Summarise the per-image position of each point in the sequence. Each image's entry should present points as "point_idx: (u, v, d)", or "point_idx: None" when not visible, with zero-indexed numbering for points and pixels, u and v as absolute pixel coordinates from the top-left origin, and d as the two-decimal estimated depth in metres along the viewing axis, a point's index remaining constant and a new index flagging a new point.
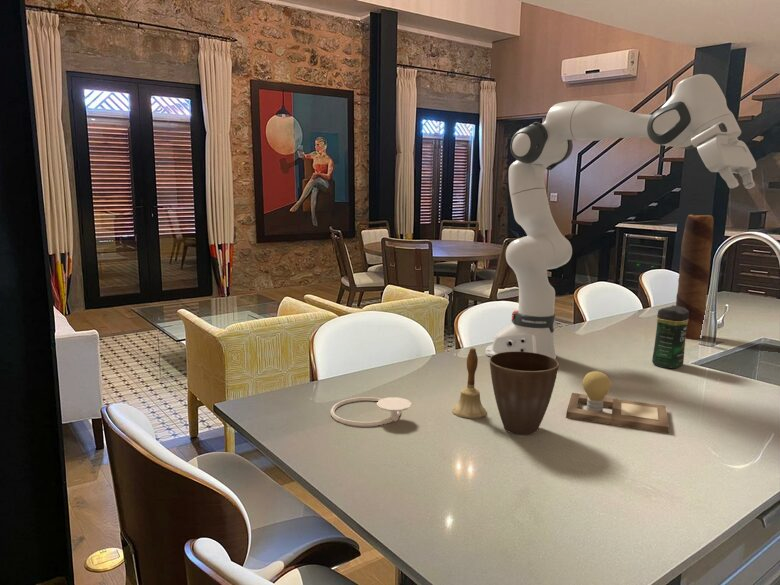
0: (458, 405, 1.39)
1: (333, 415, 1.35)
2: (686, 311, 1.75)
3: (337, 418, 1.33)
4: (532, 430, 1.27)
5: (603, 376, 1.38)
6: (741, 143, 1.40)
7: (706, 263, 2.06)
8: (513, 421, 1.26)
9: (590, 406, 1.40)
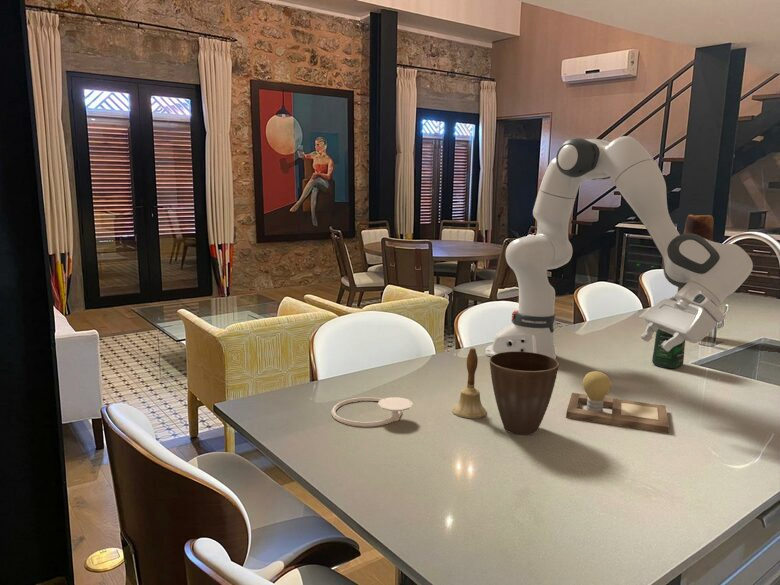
0: (458, 405, 1.39)
1: (334, 415, 1.35)
2: None
3: (338, 418, 1.33)
4: (532, 430, 1.27)
5: (603, 376, 1.38)
6: None
7: None
8: (513, 421, 1.26)
9: (590, 406, 1.40)
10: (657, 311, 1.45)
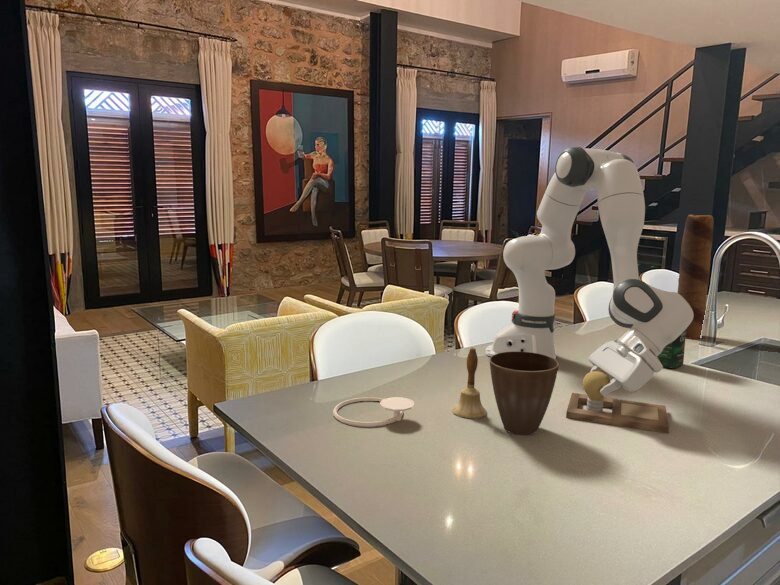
0: (458, 405, 1.39)
1: (336, 416, 1.34)
2: None
3: (340, 419, 1.33)
4: (532, 430, 1.27)
5: (603, 376, 1.38)
6: None
7: (706, 263, 2.06)
8: (513, 421, 1.26)
9: (590, 406, 1.40)
10: (600, 353, 1.46)
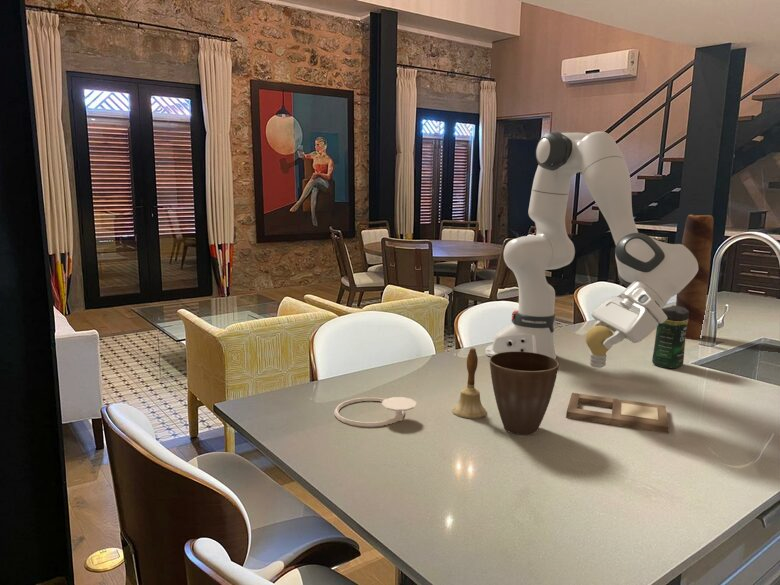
0: (458, 405, 1.39)
1: (338, 416, 1.34)
2: (686, 311, 1.75)
3: (342, 419, 1.33)
4: (532, 430, 1.27)
5: (606, 330, 1.36)
6: None
7: (706, 263, 2.06)
8: (513, 421, 1.26)
9: (593, 361, 1.38)
10: (603, 308, 1.44)
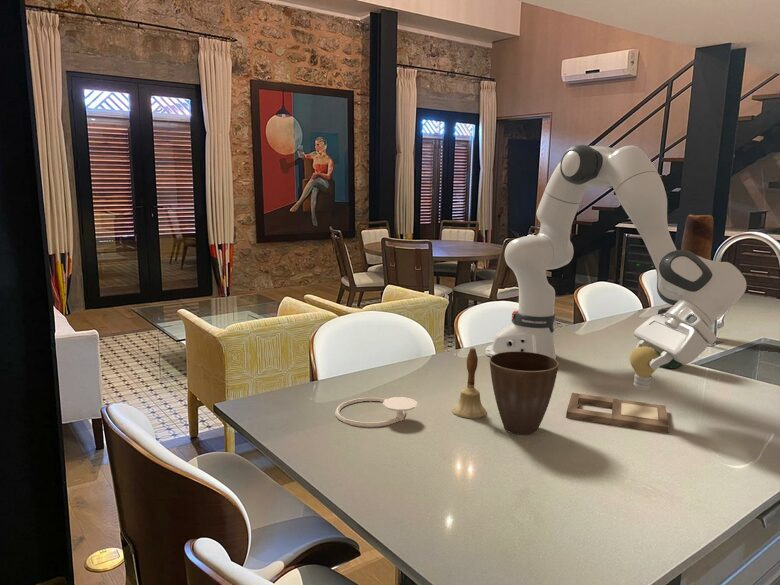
0: (458, 405, 1.39)
1: (339, 416, 1.34)
2: None
3: (343, 419, 1.32)
4: (532, 430, 1.27)
5: (652, 351, 1.33)
6: None
7: None
8: (513, 421, 1.26)
9: (638, 382, 1.35)
10: (647, 327, 1.41)
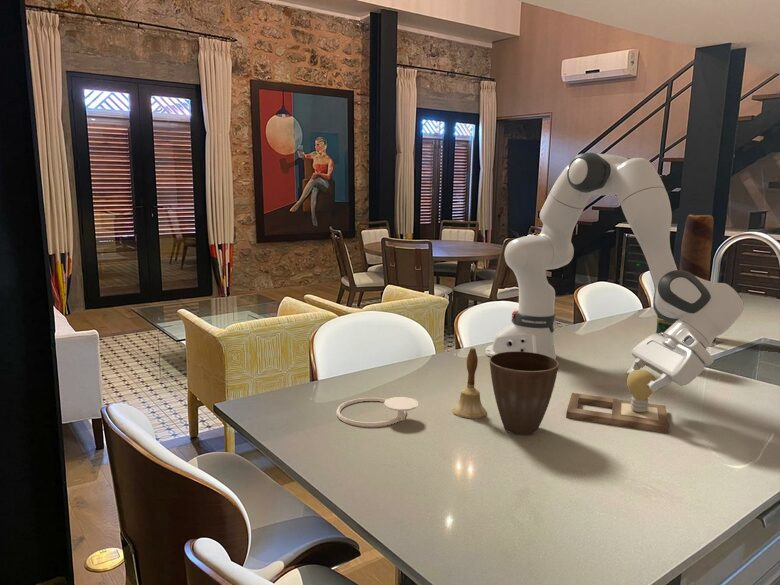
0: (458, 405, 1.39)
1: (340, 416, 1.34)
2: None
3: (345, 419, 1.32)
4: (532, 430, 1.27)
5: (649, 374, 1.34)
6: None
7: (706, 263, 2.06)
8: (513, 421, 1.26)
9: (635, 405, 1.36)
10: (644, 347, 1.41)
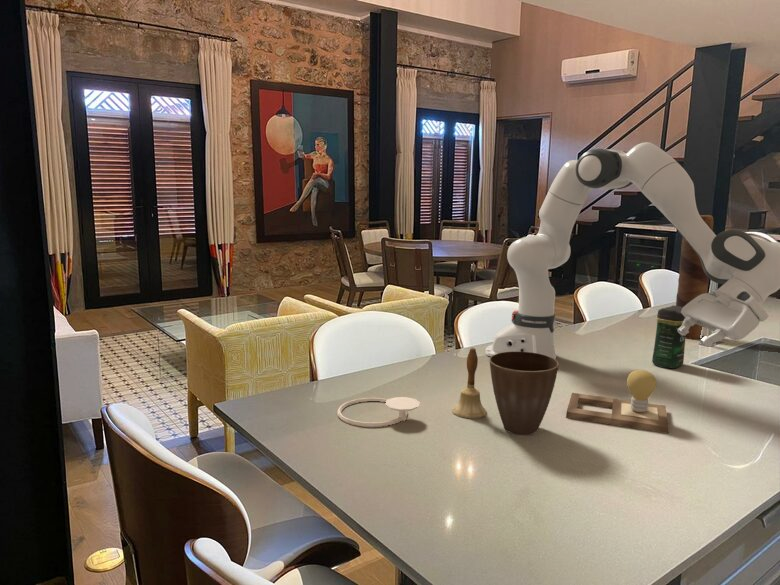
0: (458, 405, 1.39)
1: (341, 417, 1.34)
2: None
3: (346, 419, 1.32)
4: (532, 430, 1.27)
5: (649, 375, 1.34)
6: None
7: None
8: (513, 421, 1.26)
9: (635, 405, 1.36)
10: (695, 305, 1.44)
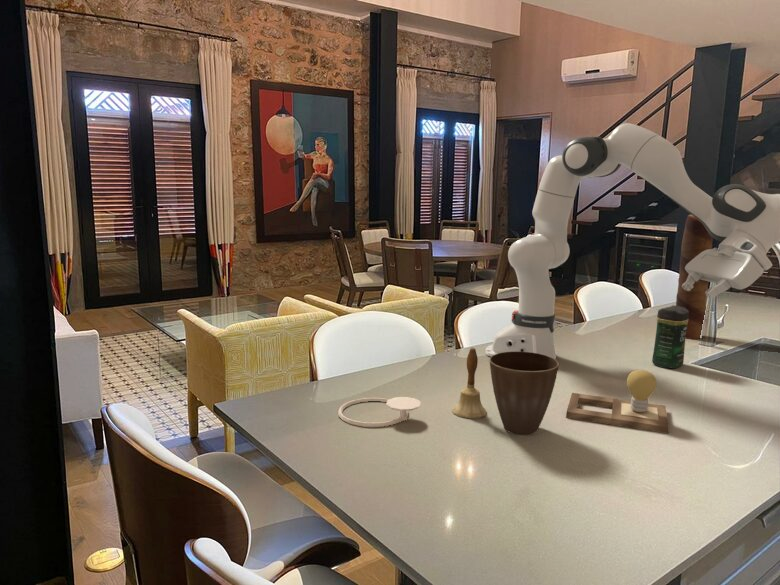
0: (458, 405, 1.39)
1: (342, 417, 1.34)
2: (686, 311, 1.75)
3: (347, 420, 1.32)
4: (532, 430, 1.27)
5: (649, 375, 1.34)
6: None
7: None
8: (513, 421, 1.26)
9: (635, 405, 1.36)
10: (699, 261, 1.45)
